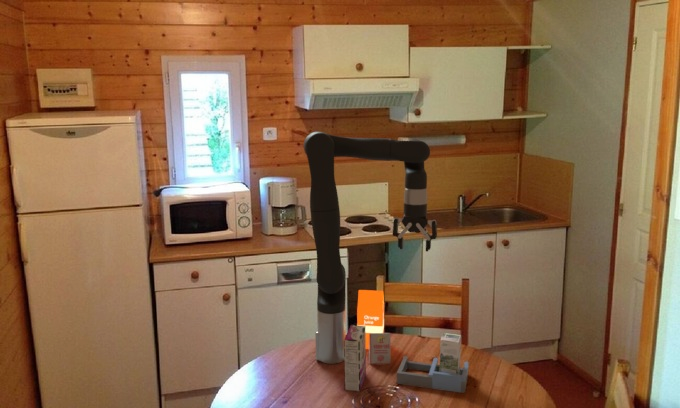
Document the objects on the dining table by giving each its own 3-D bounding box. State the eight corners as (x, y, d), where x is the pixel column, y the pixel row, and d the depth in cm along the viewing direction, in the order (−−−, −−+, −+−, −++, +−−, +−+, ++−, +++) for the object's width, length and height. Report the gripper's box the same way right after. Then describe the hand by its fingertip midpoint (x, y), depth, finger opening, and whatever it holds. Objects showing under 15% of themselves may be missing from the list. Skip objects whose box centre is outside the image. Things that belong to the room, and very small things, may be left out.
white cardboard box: (368, 359, 195) (369, 331, 193) (389, 359, 195) (389, 330, 193) (369, 364, 191) (370, 335, 189) (390, 364, 191) (390, 335, 189)
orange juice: (359, 339, 210) (359, 286, 207) (383, 340, 209) (384, 287, 205) (356, 348, 203) (357, 293, 199) (382, 350, 202) (383, 294, 198)
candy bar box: (350, 373, 185) (350, 324, 182) (366, 374, 184) (366, 325, 181) (343, 390, 174) (343, 338, 171) (360, 392, 173) (360, 340, 170)
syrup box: (460, 378, 182) (461, 334, 179) (457, 386, 176) (459, 341, 174) (441, 375, 184) (443, 331, 181) (438, 384, 178) (440, 339, 175)
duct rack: (396, 383, 178) (396, 368, 177) (403, 366, 190) (404, 351, 189) (464, 393, 173) (465, 377, 172) (468, 374, 184) (468, 359, 183)
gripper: (391, 202, 189) (390, 251, 192) (435, 204, 185) (434, 254, 188) (396, 198, 196) (395, 245, 199) (438, 200, 192) (437, 248, 195)
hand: (414, 249), depth 193 cm, fingers open, 8 cm apart
